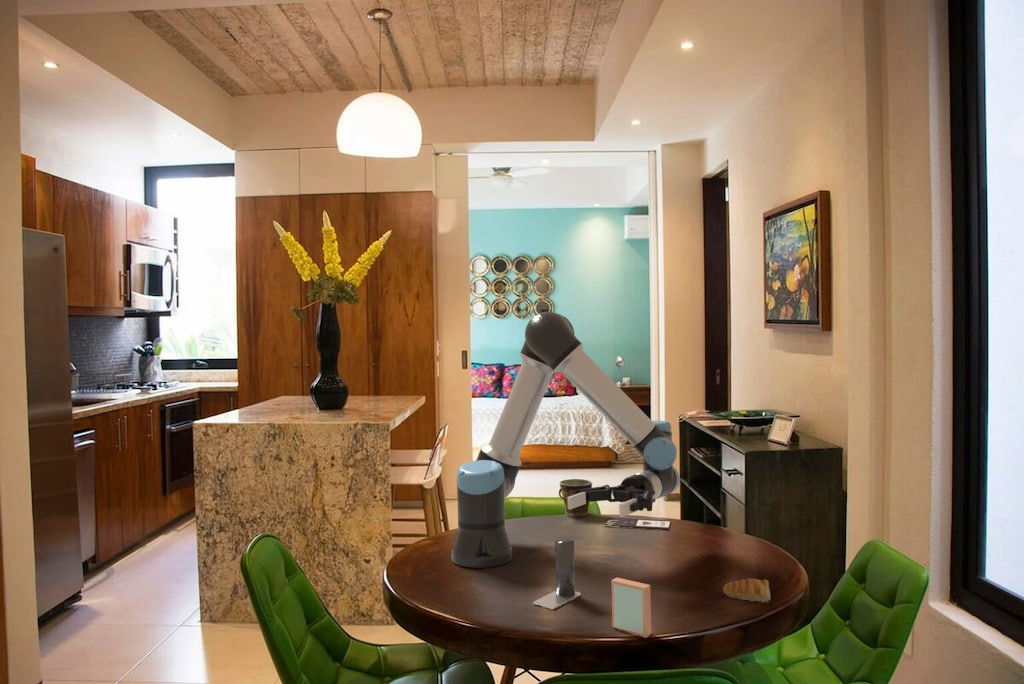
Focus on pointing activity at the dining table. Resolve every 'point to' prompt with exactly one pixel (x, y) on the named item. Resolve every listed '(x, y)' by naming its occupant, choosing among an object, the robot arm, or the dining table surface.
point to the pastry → (748, 590)
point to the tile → (631, 606)
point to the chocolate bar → (641, 523)
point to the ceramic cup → (569, 490)
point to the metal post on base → (562, 576)
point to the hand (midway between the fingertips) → (594, 506)
